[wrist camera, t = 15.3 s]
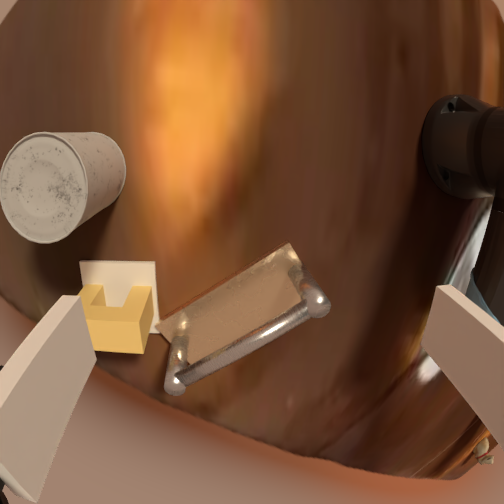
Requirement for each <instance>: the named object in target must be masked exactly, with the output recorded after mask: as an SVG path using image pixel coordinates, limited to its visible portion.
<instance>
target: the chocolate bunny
mask: <svg viewBox="0 0 504 504" xmlns="http://www.w3.org/2000/svg"><path fill="white" fill-rule="evenodd" d="M488 448H489V443H488V440H487V438H486V437H485V438H484V439H483V440H481V441H480V442H479V443H478V444H477V445H476V447H475V448H474V450H473V453H475V458H477V461H478V462H479V463H480V464H481V465H482V464H484V463H487V464H492V463H493V458H494V456H493V455H488V451H487V450H488Z"/></svg>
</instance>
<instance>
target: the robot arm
mask: <svg viewBox="0 0 504 504" xmlns="http://www.w3.org/2000/svg"><path fill="white" fill-rule="evenodd" d="M422 149H423V156H424V161H425V164H426V167H427V170H428V172H429V174H430V176H431V178H432V180H433V181H434V183H435V184H436V185H437V186H438V187H439V188H440V189H441V190H442V191H443V192H445V193H447V194H449V195H451V196H454V197H457V198H461V199H475V198H482V197H489V196H494V200H493V205H492V209H491V213H490V217H489V220H488V224H487V228H486V231H485V235H484V238H483V242H482V245H481V248H480V252H479V255H478V258H477V261H476V264H475V267H474V268H473V269H472V271H471V275H470V276H471V279H470V282H469V285H468V288H467V291H466V294H465V296H464V295H463V294H462V293H461V292H459V291H458V290H457V289H455V288H454V287H453V286H451V285H443V286H436V290H435V295H434V298H433V302H432V306H431V310H430V314H429V317H428V321H427V324H426V328H425V331H424V334H423V338H422V341H421V344H420V345H421V346H422V347H423V348H424V350H425V351H426V352H427V353H428V354H429V355H430V357H431V358H432V359H433V360H434V361H435V363H436V364H437V365H438V366H439V367H440V369H441V370H442V371H443V372H444V374H445V375H446V376H447V377H448V378H449V380H450V381H451V382H452V383H453V385H454V386H455V387H456V388H457V390H458V391H459V392H460V393H461V395H462V396H463V397H464V399H465V400H466V401H467V402H468V404H469V405H470V406H471V408H472V409H473V410H474V411H475V413H476V414H477V415H478V417H479V418H480V419H481V421H482V422H483V423H484V425H485V426H486V427H487V429H488V430H489V431H490V433H491V434H492V435H493V437H494V438H495V439H496V441H497V442H498V444H499V445H500V446H501V448H502V449H503V451H504V107H494V106H492V105H490V104H488V103H486V102H483V101H481V100H479V99H476V98H474V97H472V96H468V95H461V94H460V95H449V96H445V97H443V98H441V99H439V100H438V101H437V102H436V103H435V104H434V105H433V106H432V108H431V109H430V111H429V113H428V115H427V117H426V120H425V123H424V127H423V134H422ZM499 211H500V212H499ZM96 360H97V359H96V355H95V352H94V348H93V345H92V341H91V337H90V334H89V330H88V326H87V322H86V318H85V314H84V309H83V305H82V301H81V296H66V295H62V296H61V298H60V299H59V300H58V301H57V302H56V303H55V304H54V305H53V307H52V308H51V309H50V310H49V311H48V312H47V314H46V315H45V316H44V317H43V318H42V319H41V321H40V322H39V323H38V324H37V325H36V327H35V328H34V329H33V330H32V332H31V333H30V334H29V335H28V336H27V338H26V339H25V340H24V341H23V343H22V344H21V345H20V346H19V348H18V349H17V350H16V352H15V353H14V354H13V355H12V357H11V358H10V359H9V361H8V362H7V363H6V365H5V366H0V504H9V503H8V500H7V498H6V496H5V495H4V493H3V492H2V489H3V487H4V485H6V486H7V487H8V488H9V489H10V490H11V491H12V492H13V493H14V494H15V495H17V496H19V497H22V498H24V499H27V500H30V501H33V502H35V503H38V500H39V496H40V494H41V491H42V488H43V485H44V482H45V480H46V477H47V474H48V471H49V469H50V466H51V463H52V461H53V458H54V456H55V453H56V451H57V448H58V445H59V443H60V440H61V438H62V435H63V433H64V431H65V428H66V426H67V423H68V421H69V419H70V417H71V414H72V412H73V410H74V407H75V405H76V403H77V401H78V398H79V396H80V394H81V392H82V390H83V387H84V385H85V383H86V381H87V379H88V377H89V375H90V372H91V370H92V368H93V366H94V364H95V362H96Z"/></svg>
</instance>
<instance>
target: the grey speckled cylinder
mask: <svg viewBox="0 0 504 504" xmlns="http://www.w3.org/2000/svg"><path fill="white" fill-rule="evenodd" d="M125 178H126V164H125V159H124V156H123V154H122V151H121V149H120V148H119V147H118V145H117V144H116V143H115V142H114V141H113V140H112V139H111V138H109V137H108V136H106V135H104V134H101V133H96V132H85V133H49V132H39V133H33V134H31V135H28V136H26V137H24V138H23V139H21V140H20V141H19V142H18V143H16V144H15V146H14V147H13V148H12V149H11V150H10V152H9V153H8V155H7V157H6V159H5V161H4V163H3V166H2V169H1V173H0V201H1V205H2V209H3V211H4V214H5V216H6V218H7V220H8V221H9V223H10V224H11V226H12V227H13V228H14V229H15V230H16V231H17V232H18V233H19V234H20V235H21V236H23V237H25V238H26V239H28V240H30V241H33V242H36V243H47V244H49V243H53V242H57V241H60V240H61V239H63V238H65V237H67V236H68V235H69V234H70V233H71V232H72V231H73V230H74V229H76V228H77V227H78V226H80V225H81V224H82V223H84V222H85V221H87V220H88V219H89V218H91V217H92V216H94V215H95V214H96V213H98V212H99V211H101V210H102V209H104V208H106V207H108V206H109V205H110V204H111V203H113V202H114V201H115V200H116V198H117V197H118V196H119V194H120V193H121V190H122V188H123V186H124V183H125Z"/></svg>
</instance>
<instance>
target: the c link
mask: <svg viewBox="0 0 504 504" xmlns="http://www.w3.org/2000/svg"><path fill="white" fill-rule="evenodd" d="M77 296H81V301H82V305H83V309H84V314H85V318H86V322H87V326H88V330H89V334H90V337H91V341H92V345H93V348H94V350H96V351H108V352H122V353H138V354H144V350H145V346H146V342H147V339H148V335H149V331H150V328H151V324H152V320H153V317H154V306H153V294H152V286H132V288H131V290H130V292H129V294H128V296H127V298H126V300H125V303H124V305H123V307H110V306H106V301H105V294H104V287H103V285H99V284H85V286H84V287H83V288H82V290H81V291H80V292H79V294H78V295H77Z"/></svg>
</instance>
